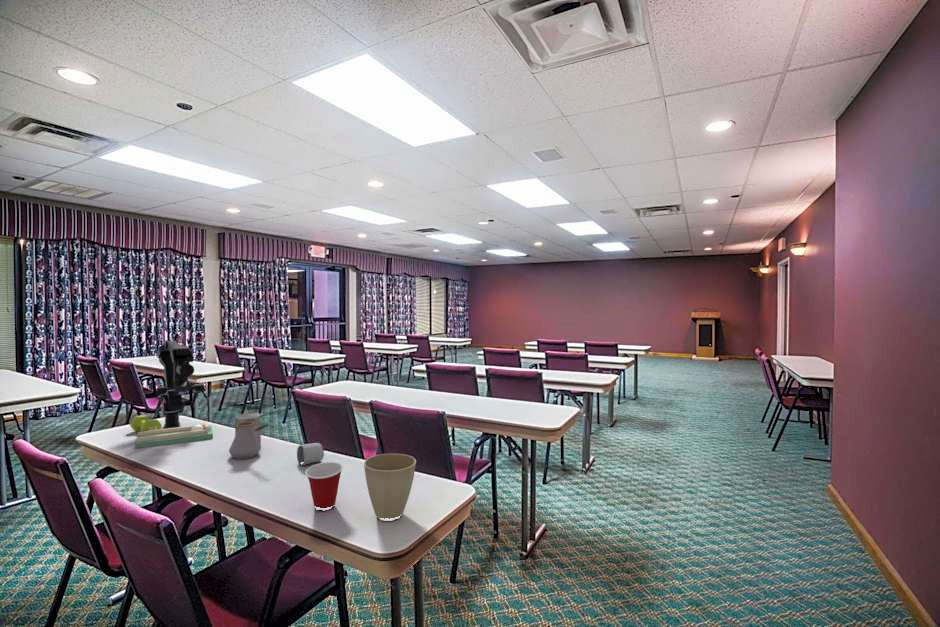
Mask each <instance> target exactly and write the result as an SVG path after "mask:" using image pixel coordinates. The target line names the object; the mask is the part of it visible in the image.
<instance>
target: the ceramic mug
mask: <svg viewBox="0 0 940 627" xmlns="http://www.w3.org/2000/svg"><path fill="white" fill-rule="evenodd" d="M324 449H325V448H324V446H323V444H321V443H320V442H313V443H305V444H300V445H298V447H297V450H296V459H297V463H298V464H299V463H301V462H304V463H303V464H302V465H303V466H307V465H306V464H308V465H311V464H310V463H312V464H315V463H314V462H316V463H319V462H321V461H323V459H324V456H325V453H324V452H325V450H324ZM318 461H319V462H318Z"/></svg>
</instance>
